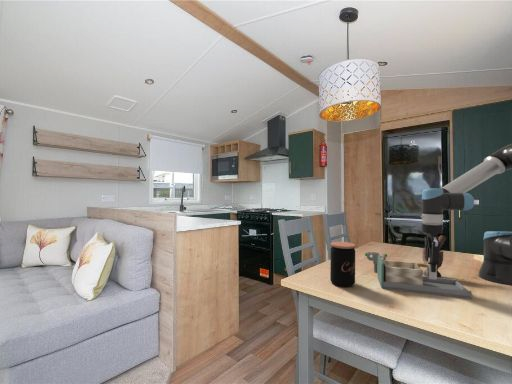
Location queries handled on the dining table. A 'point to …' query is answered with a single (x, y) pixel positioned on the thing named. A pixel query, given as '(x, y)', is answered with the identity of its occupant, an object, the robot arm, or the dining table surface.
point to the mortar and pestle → (441, 240)
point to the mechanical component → (375, 258)
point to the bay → (426, 285)
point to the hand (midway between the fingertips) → (431, 277)
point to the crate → (404, 272)
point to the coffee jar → (342, 264)
